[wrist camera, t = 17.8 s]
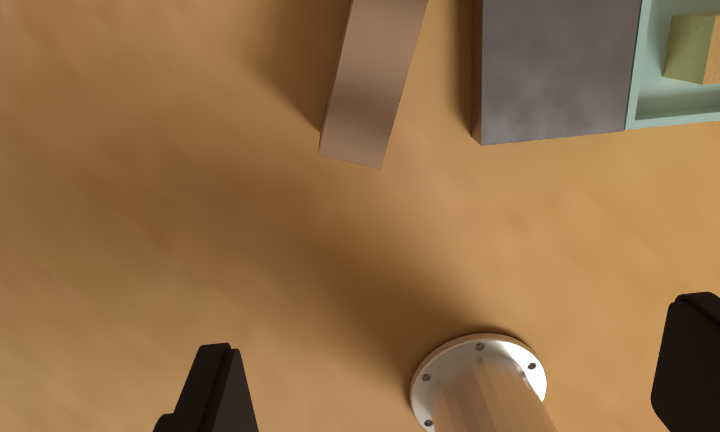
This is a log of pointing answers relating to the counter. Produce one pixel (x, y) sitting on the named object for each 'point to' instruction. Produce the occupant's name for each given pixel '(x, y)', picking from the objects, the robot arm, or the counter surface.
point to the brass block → (694, 48)
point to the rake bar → (369, 79)
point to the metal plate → (550, 68)
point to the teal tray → (647, 86)
